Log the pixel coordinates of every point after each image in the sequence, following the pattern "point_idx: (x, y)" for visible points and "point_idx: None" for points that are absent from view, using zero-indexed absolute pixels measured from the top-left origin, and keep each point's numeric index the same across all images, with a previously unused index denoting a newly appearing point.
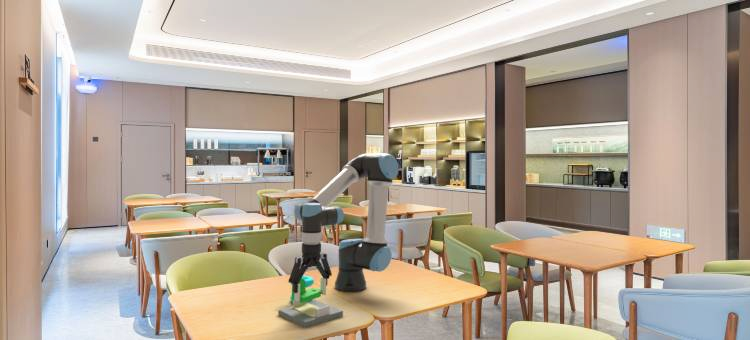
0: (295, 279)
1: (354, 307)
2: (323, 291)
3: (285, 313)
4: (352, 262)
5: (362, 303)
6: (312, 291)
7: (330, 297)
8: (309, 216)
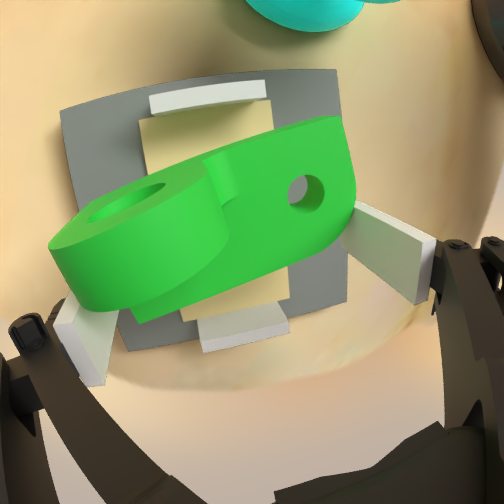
0: (40, 435)
1: (424, 225)
2: (353, 244)
3: (73, 186)
4: None
5: (462, 203)
6: (283, 210)
7: (424, 48)
8: None
